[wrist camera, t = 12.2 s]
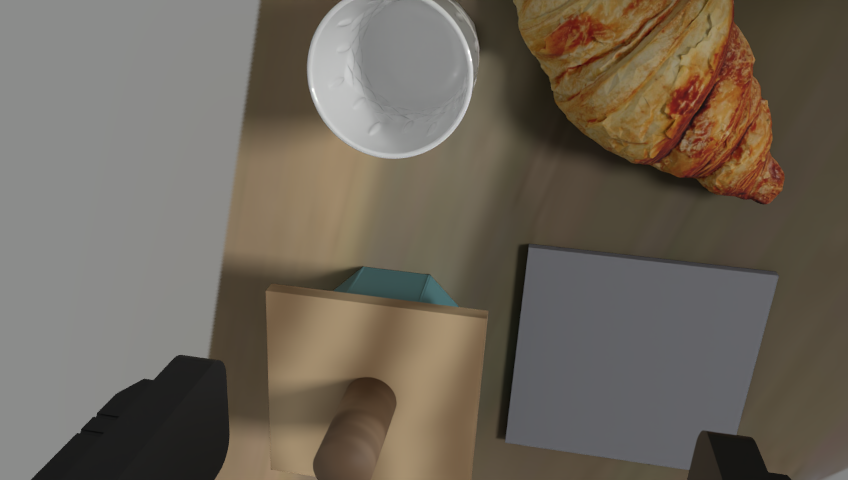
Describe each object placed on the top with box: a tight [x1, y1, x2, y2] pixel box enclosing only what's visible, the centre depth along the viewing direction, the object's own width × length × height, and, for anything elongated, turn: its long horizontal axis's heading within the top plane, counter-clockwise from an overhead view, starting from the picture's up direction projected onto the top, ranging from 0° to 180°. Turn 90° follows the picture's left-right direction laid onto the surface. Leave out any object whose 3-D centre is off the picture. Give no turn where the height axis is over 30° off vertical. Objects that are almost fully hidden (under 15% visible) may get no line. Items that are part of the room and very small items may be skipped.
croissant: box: [513, 0, 784, 204], centre depth 38 cm, size 21×10×8 cm, turn 48°
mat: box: [505, 244, 779, 470], centre depth 47 cm, size 15×15×1 cm
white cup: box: [307, 0, 480, 159], centre depth 38 cm, size 8×8×10 cm
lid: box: [266, 284, 488, 480], centre depth 41 cm, size 13×13×8 cm
